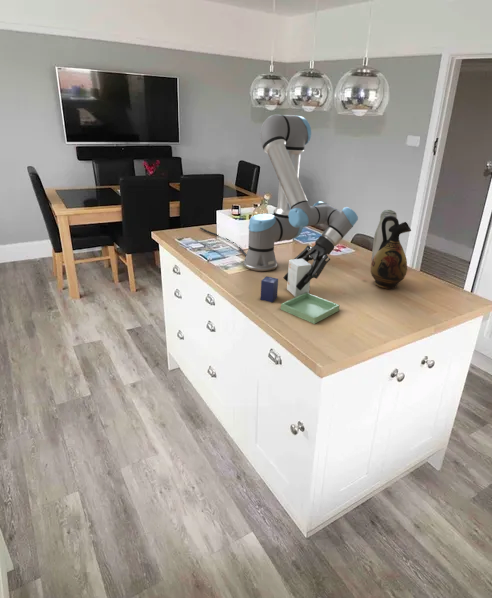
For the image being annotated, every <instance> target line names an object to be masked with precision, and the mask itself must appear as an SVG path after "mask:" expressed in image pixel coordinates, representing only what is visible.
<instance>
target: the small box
mask: <svg viewBox="0 0 492 598" xmlns="http://www.w3.org/2000/svg"><path fill="white" fill-rule="evenodd" d="M311 267H312V264H311V263H310V262H309V261H308V262H307V261H305V260H304V259H295V258H293V259H288V269H287V273H288V281H286V290H287V291H288V292H289V293H290V294H291V295H292V296H293V297H294V298H295V297H297V296H300V295H302V294H304V293H306V292H307V293H310V290H311V289H310V287H311V280H310V281H309V282H308V283H307V284H306V285H305V286H304V287H303V288H302V289H301V291H300V290H299V289H298V288H297V287H296V285H297V284H298V283H299V282H300V281H301V279H302V278H303V277H304V276H305V275H306V274H308V273H309V271H310V269H311Z"/></svg>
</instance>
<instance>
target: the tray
mask: <svg viewBox="0 0 492 598" xmlns="http://www.w3.org/2000/svg"><path fill="white" fill-rule="evenodd" d="M280 310H281V311H283V312H285V313H288V314H290V315H292V316H294V317H297V318H299V319H301V320H304V321H306V322H309V323H311V324H313V325H315V324H317V323H319V322H320V321H322V320H325V319H326V318H328V317H331V315H334V314H335V313H338V312H339V311H340V304H338V303H336V302H333V301H331V300H328V299H325V298H323V297H320V296H317V295H315V294H312V293H310V292H309V293H307V292H306V293H304V294H302V295H300V296H297V297H295V296H294V297H293V298H290V299H288V300H286V301H284V302H282V303H280Z"/></svg>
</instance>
